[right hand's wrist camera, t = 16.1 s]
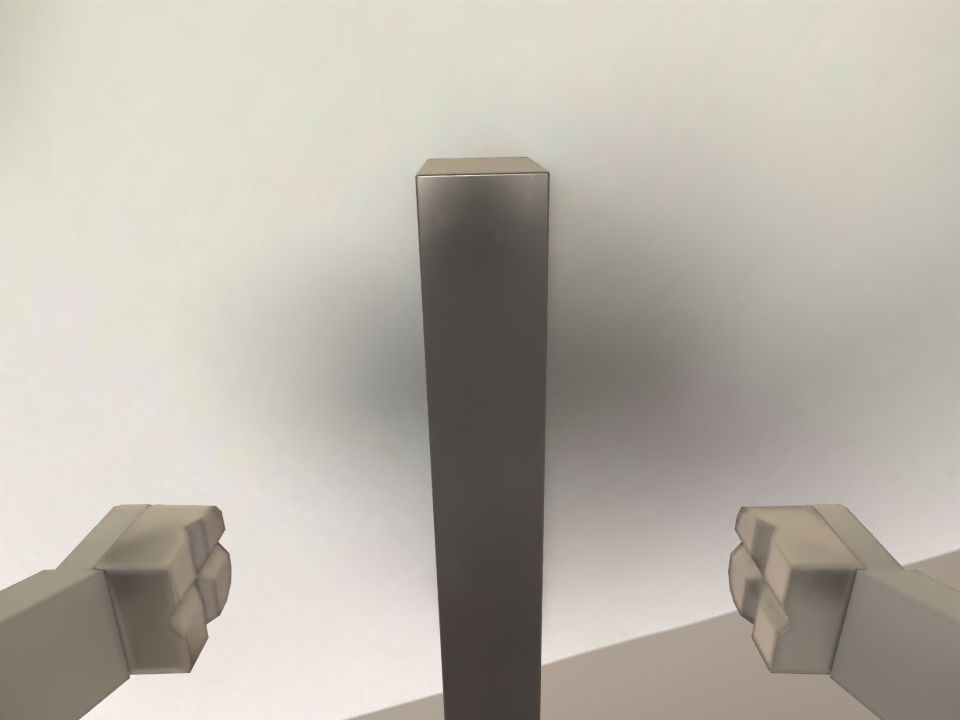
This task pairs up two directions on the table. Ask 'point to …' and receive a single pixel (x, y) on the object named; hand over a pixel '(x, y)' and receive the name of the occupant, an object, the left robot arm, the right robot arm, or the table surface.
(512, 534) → the bar
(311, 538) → the table surface
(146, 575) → the right robot arm
